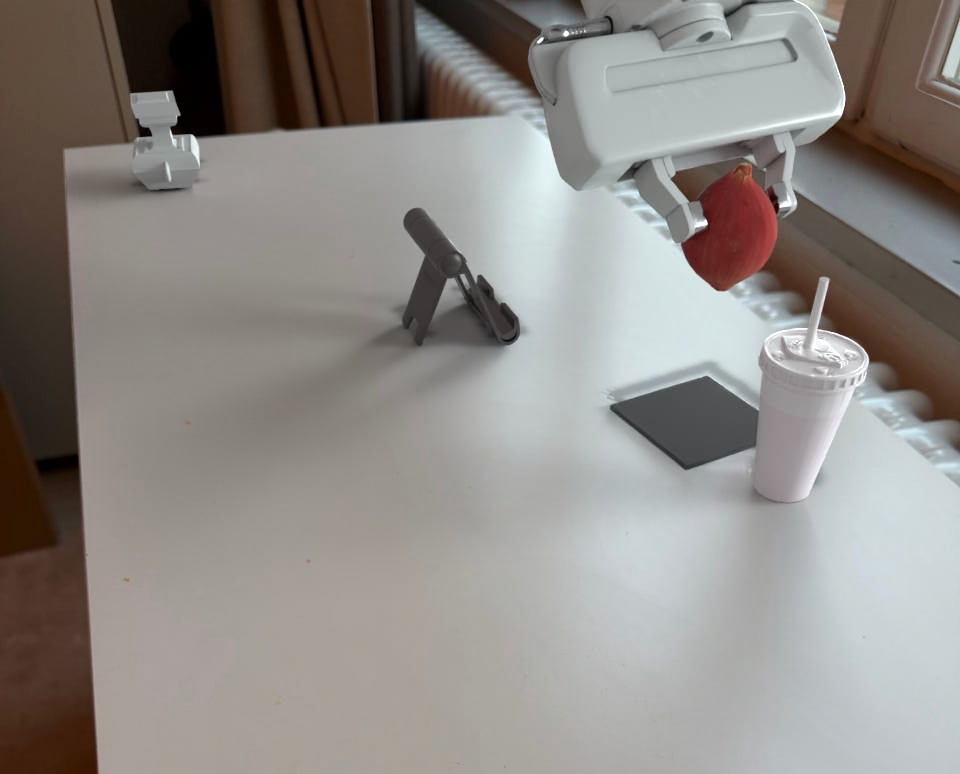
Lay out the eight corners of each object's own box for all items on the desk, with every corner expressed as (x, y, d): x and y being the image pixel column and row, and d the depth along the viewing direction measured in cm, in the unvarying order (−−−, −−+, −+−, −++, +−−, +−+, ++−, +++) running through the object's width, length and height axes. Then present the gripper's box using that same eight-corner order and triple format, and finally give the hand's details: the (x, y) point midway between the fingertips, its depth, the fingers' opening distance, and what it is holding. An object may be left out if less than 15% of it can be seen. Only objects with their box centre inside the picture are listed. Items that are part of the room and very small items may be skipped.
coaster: (706, 379, 78) (707, 374, 78) (787, 435, 73) (788, 430, 72) (609, 409, 75) (609, 404, 75) (686, 470, 69) (687, 465, 69)
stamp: (205, 197, 104) (190, 107, 98) (137, 202, 103) (118, 112, 97) (202, 166, 111) (187, 80, 105) (138, 171, 109) (120, 84, 104)
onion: (665, 301, 66) (683, 171, 60) (684, 265, 70) (702, 140, 64) (756, 316, 65) (783, 185, 59) (770, 279, 68) (797, 152, 63)
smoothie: (770, 448, 72) (817, 249, 62) (850, 488, 68) (913, 284, 58) (712, 484, 68) (752, 280, 59) (793, 527, 65) (850, 319, 55)
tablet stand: (520, 345, 82) (524, 241, 76) (426, 361, 80) (423, 255, 74) (482, 298, 88) (483, 198, 82) (394, 312, 86) (388, 211, 80)
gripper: (541, -6, 57) (625, 235, 57) (820, -41, 64) (893, 173, 65) (498, 64, 62) (575, 282, 63) (759, 24, 70) (825, 219, 70)
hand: (738, 226), depth 64 cm, fingers closed on onion, 6 cm apart
